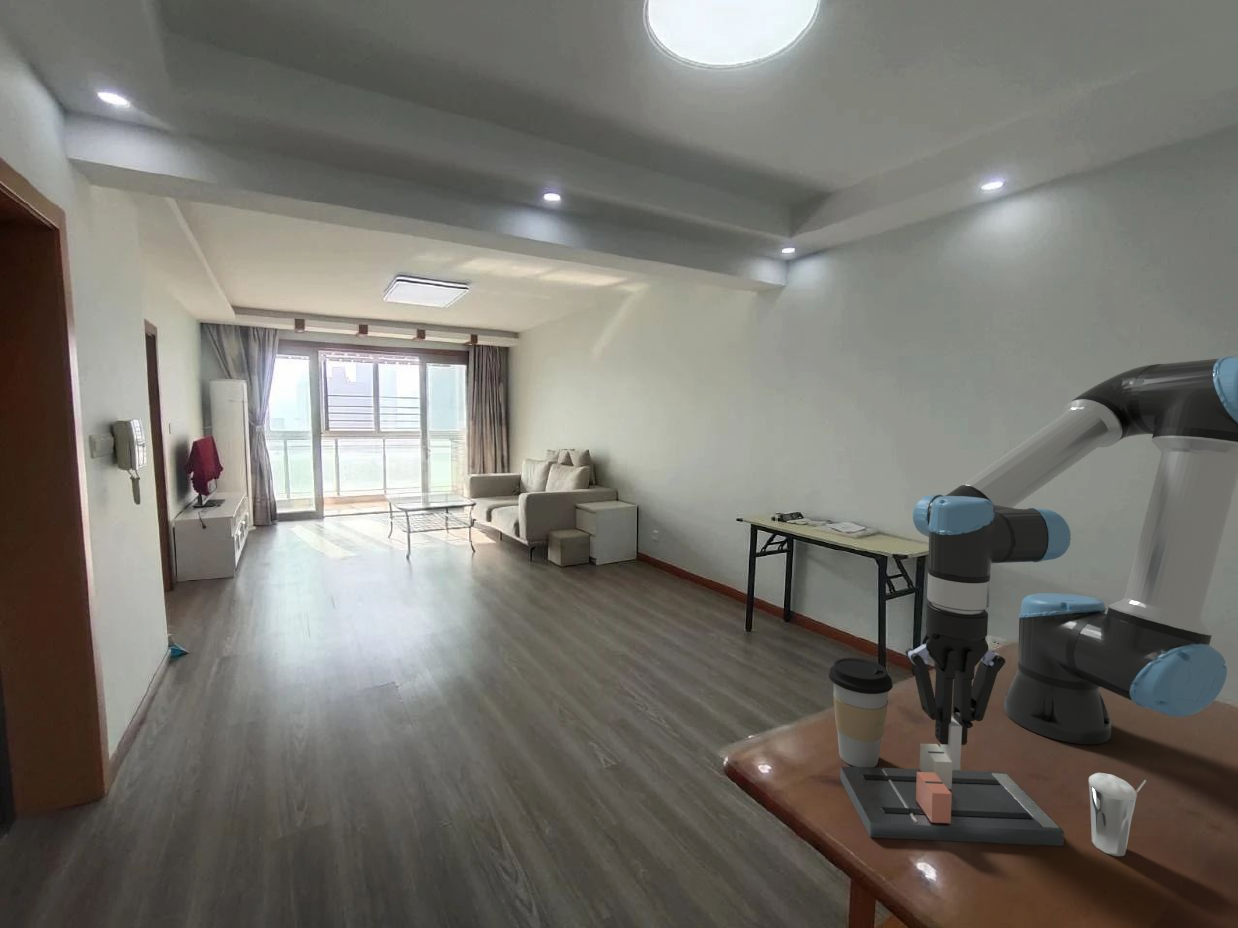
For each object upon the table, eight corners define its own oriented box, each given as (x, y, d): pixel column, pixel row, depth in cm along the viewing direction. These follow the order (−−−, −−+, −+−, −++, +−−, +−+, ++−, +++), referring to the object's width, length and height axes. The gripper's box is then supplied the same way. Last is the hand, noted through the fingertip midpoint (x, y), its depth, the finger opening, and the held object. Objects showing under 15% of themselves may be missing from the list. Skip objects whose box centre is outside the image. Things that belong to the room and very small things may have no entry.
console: (1004, 785, 83) (1005, 771, 83) (1063, 845, 71) (1064, 830, 71) (840, 778, 85) (840, 765, 84) (870, 837, 73) (870, 821, 73)
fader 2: (933, 800, 76) (934, 771, 76) (950, 823, 72) (951, 793, 72) (915, 799, 77) (916, 771, 76) (931, 822, 72) (932, 792, 72)
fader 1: (936, 769, 83) (937, 743, 83) (951, 788, 79) (952, 761, 78) (919, 768, 83) (920, 743, 83) (934, 788, 79) (935, 760, 79)
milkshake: (1146, 869, 67) (1151, 790, 66) (1088, 851, 70) (1093, 775, 69) (1136, 844, 71) (1141, 770, 70) (1082, 829, 74) (1086, 757, 73)
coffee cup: (897, 779, 84) (900, 683, 83) (832, 771, 86) (834, 678, 85) (881, 743, 94) (884, 657, 93) (822, 737, 96) (824, 653, 94)
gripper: (988, 598, 82) (981, 750, 84) (898, 596, 83) (892, 747, 85) (1021, 615, 75) (1012, 782, 77) (922, 613, 76) (915, 778, 77)
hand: (949, 763), depth 81 cm, fingers closed
